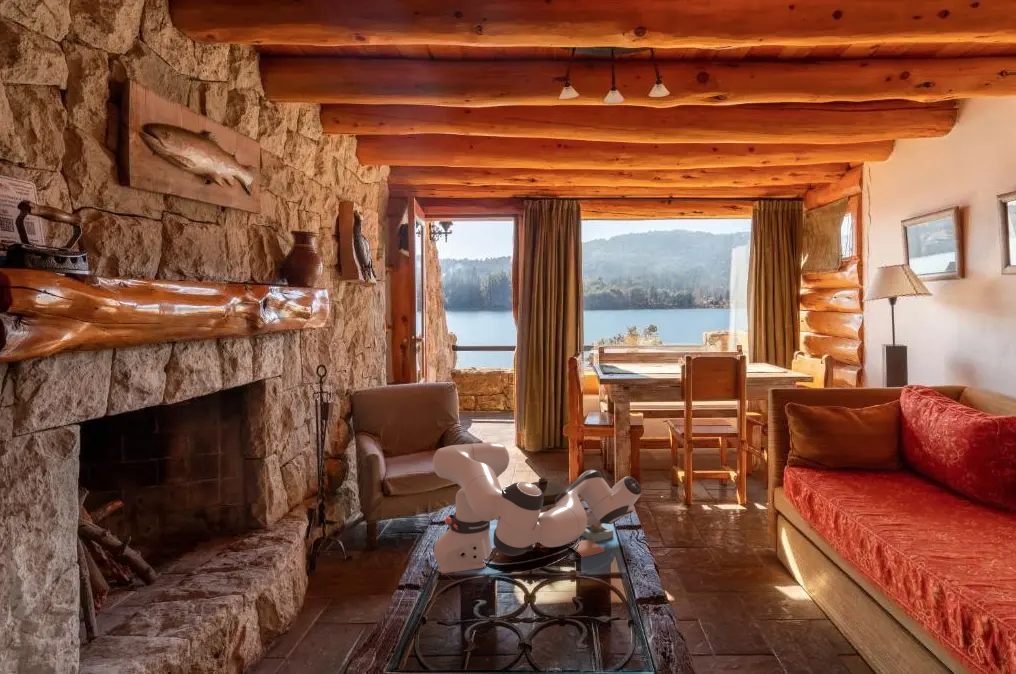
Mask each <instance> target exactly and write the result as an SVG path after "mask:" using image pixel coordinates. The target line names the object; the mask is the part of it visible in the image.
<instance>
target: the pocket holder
mask: <svg viewBox="0 0 1016 674" xmlns="http://www.w3.org/2000/svg"><path fill="white" fill-rule="evenodd" d="M582 535H583V536H582ZM582 535H581V536H582V537H584V538H585V539H586V540H587V539H590V540H591V541H593V542H594V543H596V542H600V541H603V539H604V540H607V539H610V538H611V537H612V538H614V530H613V529H611V528H610V527H608V526H606V525H604V524H601V532H597V533H593V532H591V531H590V527H589V526H587V527H586V530H585V532H584V533H583V534H582Z"/></svg>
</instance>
